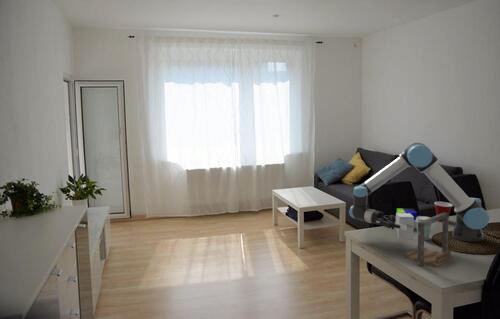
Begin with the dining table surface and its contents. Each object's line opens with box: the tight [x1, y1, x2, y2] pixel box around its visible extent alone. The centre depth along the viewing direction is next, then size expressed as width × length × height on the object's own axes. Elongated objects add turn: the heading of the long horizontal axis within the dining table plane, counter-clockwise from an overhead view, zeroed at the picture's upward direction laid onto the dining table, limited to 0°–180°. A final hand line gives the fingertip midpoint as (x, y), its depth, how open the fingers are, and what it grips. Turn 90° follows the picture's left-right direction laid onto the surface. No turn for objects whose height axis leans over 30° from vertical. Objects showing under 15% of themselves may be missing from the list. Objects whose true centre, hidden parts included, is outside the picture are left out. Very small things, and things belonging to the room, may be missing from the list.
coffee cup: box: [416, 215, 432, 241], centre depth 208 cm, size 8×8×12 cm
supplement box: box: [394, 212, 414, 241], centre depth 190 cm, size 7×7×13 cm
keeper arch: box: [405, 212, 454, 268], centre depth 180 cm, size 16×26×21 cm, turn 127°
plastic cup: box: [433, 201, 454, 223], centre depth 237 cm, size 11×11×12 cm
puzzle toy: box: [396, 207, 418, 229], centre depth 231 cm, size 10×10×10 cm
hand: (412, 226), depth 187 cm, fingers closed on supplement box, 10 cm apart
